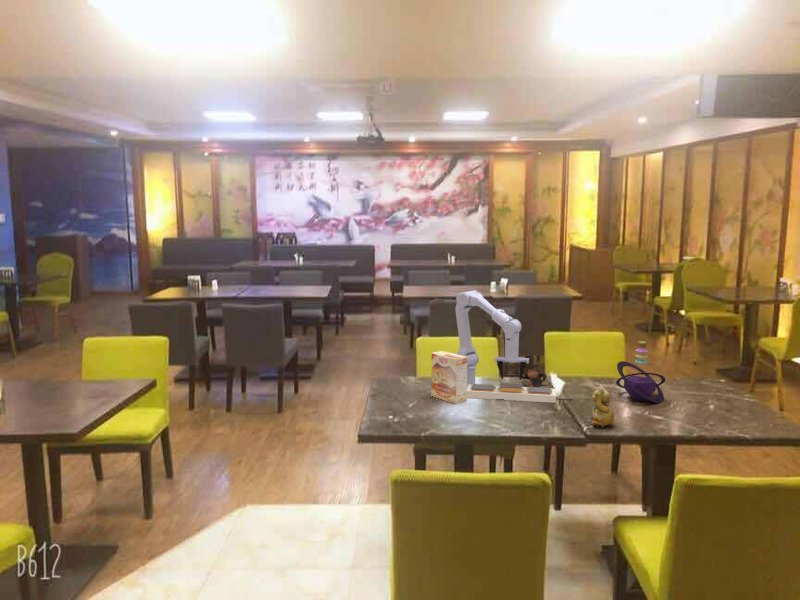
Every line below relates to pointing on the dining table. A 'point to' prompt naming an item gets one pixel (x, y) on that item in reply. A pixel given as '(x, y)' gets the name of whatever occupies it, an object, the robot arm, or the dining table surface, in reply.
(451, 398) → the coffeecake box
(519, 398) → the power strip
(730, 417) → the dining table surface
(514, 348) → the robot arm
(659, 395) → the decorative bottle
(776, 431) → the dining table surface
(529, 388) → the right button
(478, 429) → the dining table surface
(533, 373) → the brown grey irregular piece
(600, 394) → the decorative figurine
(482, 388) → the left button
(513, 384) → the middle button
